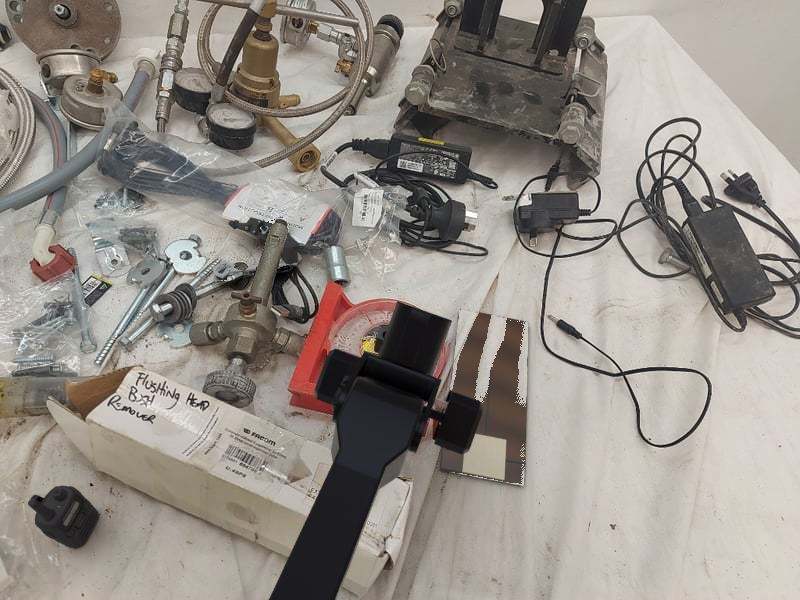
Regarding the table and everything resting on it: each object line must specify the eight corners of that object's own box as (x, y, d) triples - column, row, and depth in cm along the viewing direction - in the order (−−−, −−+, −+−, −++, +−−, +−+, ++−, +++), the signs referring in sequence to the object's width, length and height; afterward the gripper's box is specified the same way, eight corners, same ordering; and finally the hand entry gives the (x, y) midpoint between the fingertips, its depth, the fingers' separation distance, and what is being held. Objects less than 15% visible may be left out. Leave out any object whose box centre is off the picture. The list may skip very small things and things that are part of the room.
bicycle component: (214, 287, 93) (306, 273, 97) (208, 247, 89) (303, 235, 94) (209, 253, 102) (293, 243, 107) (203, 216, 99) (290, 206, 103)
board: (522, 487, 82) (525, 483, 81) (439, 470, 82) (441, 467, 81) (527, 325, 98) (529, 321, 97) (458, 312, 98) (459, 307, 97)
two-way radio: (82, 554, 71) (33, 521, 59) (48, 544, 71) (-8, 509, 59) (106, 509, 74) (64, 469, 62) (73, 500, 74) (25, 458, 62)
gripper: (505, 363, 58) (493, 360, 74) (334, 301, 60) (357, 311, 76) (469, 468, 58) (464, 443, 73) (297, 403, 60) (328, 391, 75)
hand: (403, 394), depth 74 cm, fingers open, 9 cm apart
